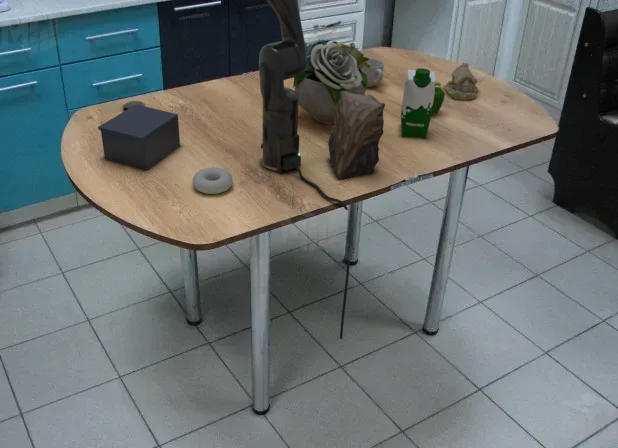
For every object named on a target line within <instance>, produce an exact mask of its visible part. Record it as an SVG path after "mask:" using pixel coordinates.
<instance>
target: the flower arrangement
mask: <svg viewBox="0 0 618 448" xmlns="http://www.w3.org/2000/svg"><path fill="white" fill-rule="evenodd" d="M305 46H306V53H307V67H306V70H305V72H304V73H303V74H302V75H300V76H297V77H294V78H293V86H292V87H293V88H292V89H294V91H295V92H297V94H298V96H299V107H301V108H302V109H303V110H304V111H305V112H307V113H308V114H309V115H310V116H311V115H312V116H313V117H314V120H315V121H317V122H319V123H321V124H328V125H329V124H331V125H334V111H335V108H336V105H337V104H338V102H339V100H340V92H341V91H348V92H351V93H352V94H361V95H365V96H366V91H367V90H368V89H367V88H368V87H367V80H368V78H367V76H366V74H364V73H363V72H362V71H361V68H362V67H364V66H365V67H368V68H369V67H371V64H370V63H369V62H367V61H368V60H369V58H370V57H368V58H367V56H365V55H364V53H363V52H362V51H361V50H359V49H358V48H356V44H355V42H351V43H348V44H346V43H344V42H339V41H336V40H334V41H332V39H327V40H326V39H318V40H316V41H315V42H312V43H309V44H308V42H307V41H305Z"/></svg>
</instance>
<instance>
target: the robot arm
mask: <svg viewBox="0 0 618 448" xmlns="http://www.w3.org/2000/svg"><path fill="white" fill-rule="evenodd" d="M265 1H266V3H267V4H268V5H269V7H270V8H271V9H272V11H273V12H274V14H275V16H276V18H277V20H278V23H279V28H280V33H281V41H276V42H272V43H268V44H265V45H263V46H262V47H261V50H260V51H259V57H258V72H259V90H260V94H261V98H262V137H261V138H262V142H261V144H260V150H261V151H262V153H261V154H262V157H261V158H262V159H261V165H262V166H263V167H264V168H265V169H267V170H269V171H273V172H277V173H279V174H281V173H284V172H287V171H291V170H294V169H296V170H297V172H298V175H299V178H300V179H301V180H302V181H303V182H304V183H306V184H308V185H310V186H312V187H313V188H315V189H316V190H317V191H318V192H319V194H320V195H321V196H322V197H323V198H325V199H326V200H328V201H331V202H336V203H338V204H340V205H341V206H342V207H343V209H344V210H345V211H349V207H348V206H347V205H346V203H345V202H344V201H343V200H340V199H338V198H334V197H330V196H328V195H327V194H325V193H324V191H323V190H322V189H321V188H320V187H319V185H317V184H316V183H315V182H312V181H309V180H308V179H306V178H305V176H304V175H303V173H302V170H301V169H300V167H301V165H302V164H301V163H302V156H301V154H300V134H298V131H299V107H300V105H299V96H298V94H297V92H295V89H294V90H293V88H292V89H291V88H289V87H285V81H286V80H291V79H294V77H297V76H300V75H302V74H303V73H304V72H305V70H306V67H307V53H306V46H305V42H306V41H305V37H304V30H303V26H302V19H301V12H300V6H299V5H300V4H299V0H265ZM350 262H351V261H350V260H347V261H346V270H345V282H344V283H345V284H344V292H343V300H342V310H341V319H340V329H339V330H340V331H339V339H340V340H342V339H343V336H344V335H343V334H344V323H345V322H344V321H345V314H346V303H347V295H348V287H349V277H350V265H351V263H350Z"/></svg>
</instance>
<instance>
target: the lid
mask: <svg viewBox="0 0 618 448" xmlns="http://www.w3.org/2000/svg"><path fill="white" fill-rule="evenodd" d="M177 117H178V118H179V114H178V113H175V112H169V111H166V110H160V109H157V108H153V107H149V106H146V105H145V106H141V105H137V104H136V105H134V106H133V107H131V108H126V110H124V111H122V112H121V113H119V114H117V115H116V116H114V117H112V118H110V119H108V120H107V121H106V122H104V123H102V124H101V125H99V126H98V127H97V128H98V130H99V131H101V130H102V131H106V132H110V133H114V134H118V135H121V136H125V137H129V138H133V139H137V140H141V141H143V140H144V139H146V138H147V137H149V136H150V135H152V134H153V133H155V132H156V131H158V130H159V129H161V128H162V127H164V126H165V125H167V124H168V123H170V122H171V121H173V120H174V119H176V118H177Z"/></svg>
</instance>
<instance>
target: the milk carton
mask: <svg viewBox="0 0 618 448" xmlns="http://www.w3.org/2000/svg"><path fill="white" fill-rule="evenodd" d="M436 83H437V82H436V73H435V71H431V70H429V69H427V68H423V67H421V68H417V69H407V74H406V77H405V80H404V87H403V95H402V102H401V110H400V124H401V125H400V126H401V136H402V137H404V138H405V137H406V138H415V139H416V138H417V139H427V134H428V131H429V127H430V123H431V119H432V115H431V113H432V107H433V101H434V94H435V87H437V86H436Z"/></svg>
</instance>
